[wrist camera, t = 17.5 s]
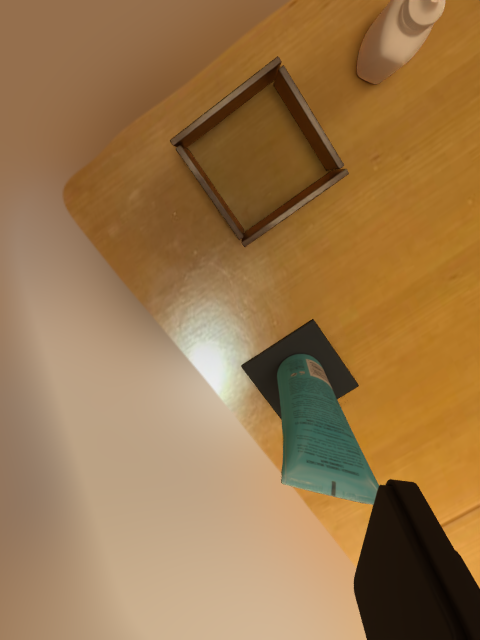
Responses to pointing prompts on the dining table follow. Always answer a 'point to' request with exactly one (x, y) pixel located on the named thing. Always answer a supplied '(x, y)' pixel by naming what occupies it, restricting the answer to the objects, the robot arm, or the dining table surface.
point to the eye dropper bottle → (396, 37)
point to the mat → (297, 342)
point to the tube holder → (304, 121)
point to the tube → (319, 436)
